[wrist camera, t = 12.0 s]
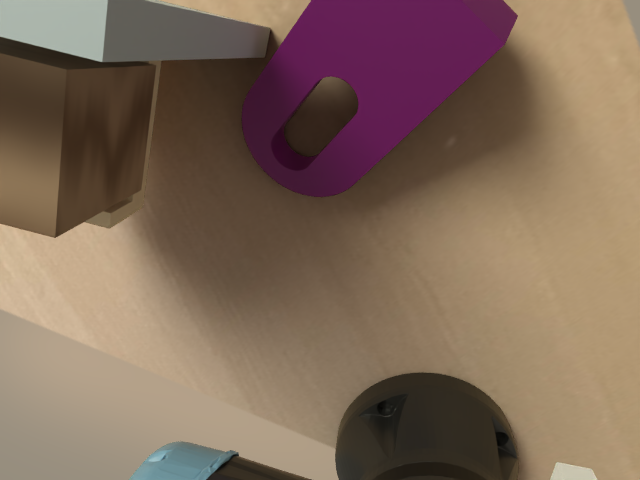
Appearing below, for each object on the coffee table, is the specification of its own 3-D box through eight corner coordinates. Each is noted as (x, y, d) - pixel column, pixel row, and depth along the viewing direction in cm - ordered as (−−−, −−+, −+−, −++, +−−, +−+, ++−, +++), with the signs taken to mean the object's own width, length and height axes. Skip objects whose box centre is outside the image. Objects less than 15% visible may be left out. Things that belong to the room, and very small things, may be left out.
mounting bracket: (355, 163, 47) (525, 0, 35) (316, 218, 41) (505, 44, 29) (272, 86, 46) (418, -112, 34) (219, 131, 40) (373, -90, 28)
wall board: (236, 208, 43) (73, 376, 21) (30, 154, 44) (-349, 262, 21) (270, 28, 39) (108, -8, 16) (39, -29, 39) (-428, -140, 17)
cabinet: (139, 204, 37) (53, 256, 27) (38, 178, 37) (-81, 221, 27) (156, 65, 34) (66, 69, 24) (46, 37, 34) (-85, 31, 24)
